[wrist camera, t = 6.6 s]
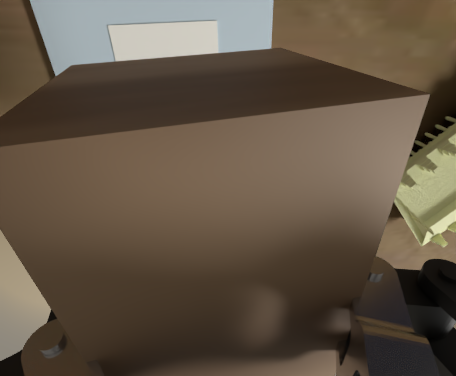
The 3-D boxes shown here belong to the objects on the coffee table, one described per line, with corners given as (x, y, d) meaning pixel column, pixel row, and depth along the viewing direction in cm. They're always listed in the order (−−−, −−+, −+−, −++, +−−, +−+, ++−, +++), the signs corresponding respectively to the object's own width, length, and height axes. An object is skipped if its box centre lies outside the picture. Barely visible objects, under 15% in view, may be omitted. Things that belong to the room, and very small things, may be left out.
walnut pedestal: (71, 64, 8) (-49, 152, 3) (280, 47, 9) (430, 93, 4) (151, 312, 15) (151, 466, 10) (268, 286, 16) (322, 412, 11)
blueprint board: (7, -83, 16) (-1, -88, 15) (271, -78, 19) (277, -83, 18) (99, 193, 26) (97, 199, 26) (262, 169, 29) (265, 174, 28)
